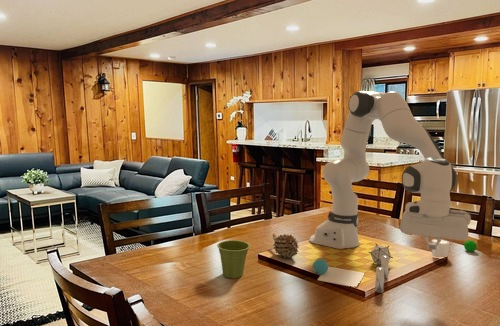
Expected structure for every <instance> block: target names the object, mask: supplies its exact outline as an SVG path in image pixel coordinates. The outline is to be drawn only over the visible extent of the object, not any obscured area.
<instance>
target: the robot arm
mask: <svg viewBox="0 0 500 326" xmlns="http://www.w3.org/2000/svg"><path fill="white" fill-rule="evenodd" d="M348 111H349V112H348V114H347V118H346V120H345V123H344V127H343V131H342V136H341V140H340V146H341V148H342V149H343V152H344V153H343V154H344V155H343V158H341V159H340V158H339V159H334V160H331V161H329V162H327V163H326V164H324V166H323V168H322V175H323V178H324V180H325V181H326V183H328V185H329V186H330V190H331V194H332V209H331V210H329V212H328V213H327V219H326V220H324V221H323V222H322V223H320V224H319V225H318V226H317V227H316V229H315V232H314V234H311V236H310V238H309V242H310V243H312V244H314V245H315V244H316V245H320V246H326V247H328V248H329V247H330V248H334V249H338V250H340V249H341V250H342V249H349V248H350V249H351V248H357V247H358V246H360V244H361V243H360V241H359V235H358V232H359V231H358V227H359V213H358V207H359V206H358V204H359V203H358V202H359V198H358V195H357V194H356V193H355V192H354V189H353V184H352V183H357V182H360V181H362V180H365V179H366V178H368V176H369V173H370V166H369V163H368V162H367V158H366V151H367V150H366V149H367V144H368V140H369V136H370V133H371V129H372V124H373V122H374V121H375V120H379V121H381V125H382V128H383V130H384V133H385V134H386V135H387V136H388V137H389V138H390V139H391V140H393V141H395V142H399V143H403V144H406V145H409V146H410V147H411V146H412V147H413V148H416V149H417V150H418V151H419V152H420V153H421V155H422V156H423V158H424V160H423V161H422V162H419V163H417V164H413V165H412V164H411V165H408V166H407V167H405V169H404V170H403V172H402V174H401V185H402V186H403V188H404V189H405V190H406V191H407V192H409V193H412V194H414V193H415V194H420V199H419V200H416V201H411V202H410V201H409V202H407V203H406V204H405V207H404V209H405V211H404V212H403V214H402V217H401V219H400V226H399V230H400V232H401V233H402V234H410V235H417V236H418V235H419V236H423V240H424V242H425V243H426V244H427V245H426V249H427V250H430V251H432V250H437V245H438V244H439V243H440V242H441V239H449V240H457V241H465V242H466V241H468V239H469V225H470V224H471V221H472V217H471V214H470V213H469V212H466V211H465V210H457V209H452V208H451V196H450V194H451V192H452V191H453V190H454V189H455V187H456V186H457V183H458V174H457V172H456V170H455V168H454V167H453V166H452V164H451V162H450V161H449V160H448V159H446V157H445V156H444V154H443V152H442V151H441V150H440V148H439V146H438V145H437V143H436V142H435V140H434V138H433V137H432V135H431V134H430V132H429V131H428V130H427V129H426V128H424V127H423V126H422V125H421V124H420V123H419V121H417V119H416V118H415V117H414V115H413V114H412V111H411V108H410V107H409V104H408V103H407V101H406V99H405V98H404V97H403V95H402V94H401V93H400V92H398V91H388V92H382V91H381V92H380V91H366V90H358V91H355V92H354V93H352V95H351V96H350V98H349V99H348ZM429 237H432V238H435V239H436V240H437V241H436V243H432V242H430V241H429V239H430V238H429Z"/></svg>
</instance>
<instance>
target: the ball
mask: <svg viewBox="0 0 500 326" xmlns="http://www.w3.org/2000/svg"><path fill="white" fill-rule="evenodd" d="M328 267H329V264H328V262H327V261H326V260H325V259H323V258H317V259H316V260H314V262H313V265H312V268H313V271H314V272H315V273H316V274H318V275H321V274H324V273H326V272H327V270H328Z"/></svg>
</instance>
